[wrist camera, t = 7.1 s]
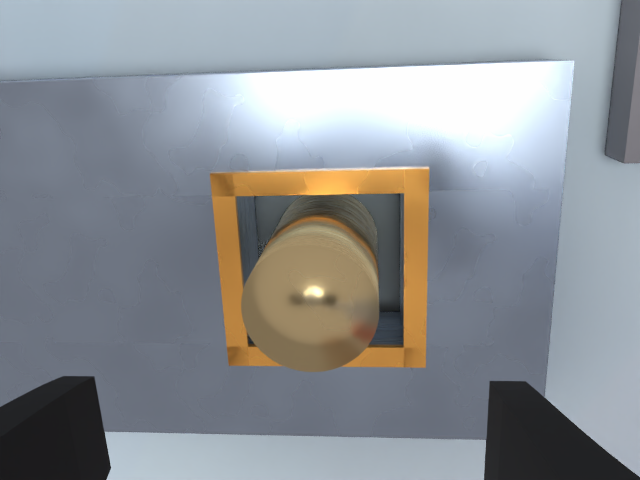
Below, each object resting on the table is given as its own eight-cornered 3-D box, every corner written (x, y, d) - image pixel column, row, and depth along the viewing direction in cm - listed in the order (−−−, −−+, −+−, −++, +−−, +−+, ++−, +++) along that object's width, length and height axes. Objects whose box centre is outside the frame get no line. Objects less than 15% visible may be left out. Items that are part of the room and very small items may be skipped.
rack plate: (522, 398, 22) (542, 444, 19) (36, 390, 23) (-6, 432, 21) (547, 59, 18) (577, 60, 15) (-31, 81, 20) (-91, 86, 17)
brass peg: (372, 288, 21) (373, 377, 15) (276, 280, 21) (240, 365, 15) (381, 193, 20) (385, 250, 14) (279, 186, 20) (242, 239, 14)
